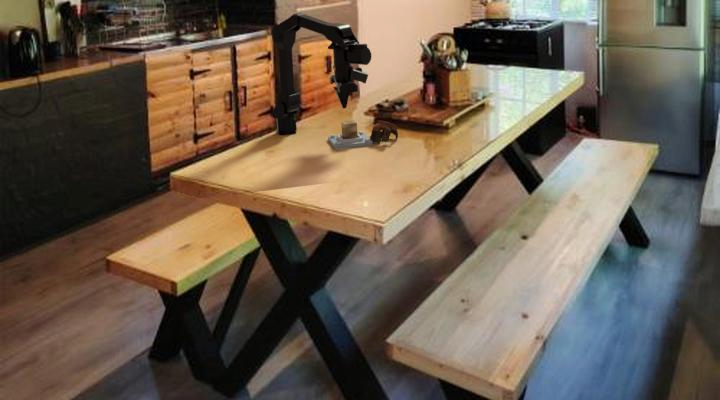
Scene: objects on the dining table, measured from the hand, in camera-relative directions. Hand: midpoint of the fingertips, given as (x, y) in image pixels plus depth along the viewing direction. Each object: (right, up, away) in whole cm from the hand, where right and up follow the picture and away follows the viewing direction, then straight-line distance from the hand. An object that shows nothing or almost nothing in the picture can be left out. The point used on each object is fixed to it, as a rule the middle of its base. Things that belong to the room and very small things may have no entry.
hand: (344, 108), depth 259 cm
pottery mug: (+14, -12, +1) cm, 18 cm away
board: (+2, -12, +2) cm, 12 cm away
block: (+2, -11, +2) cm, 11 cm away
